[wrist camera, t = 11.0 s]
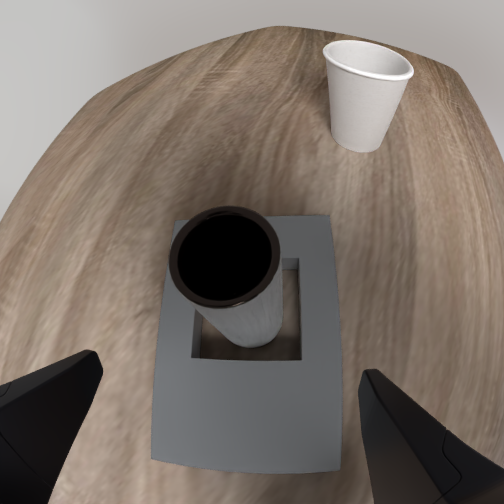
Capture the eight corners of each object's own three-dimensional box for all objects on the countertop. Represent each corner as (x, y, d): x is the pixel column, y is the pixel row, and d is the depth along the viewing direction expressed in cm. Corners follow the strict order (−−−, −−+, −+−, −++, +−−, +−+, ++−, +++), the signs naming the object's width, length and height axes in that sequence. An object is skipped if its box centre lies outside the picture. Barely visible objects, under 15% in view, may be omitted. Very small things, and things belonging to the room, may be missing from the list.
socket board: (334, 463, 15) (340, 470, 13) (162, 454, 16) (150, 458, 14) (326, 229, 23) (329, 215, 21) (182, 233, 24) (175, 220, 22)
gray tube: (236, 359, 19) (191, 330, 10) (210, 305, 21) (153, 234, 12) (294, 329, 19) (303, 272, 10) (264, 277, 22) (248, 188, 12)
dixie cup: (344, 170, 26) (359, 79, 17) (305, 121, 30) (306, 42, 21) (407, 152, 26) (432, 76, 17) (365, 109, 30) (375, 39, 21)
